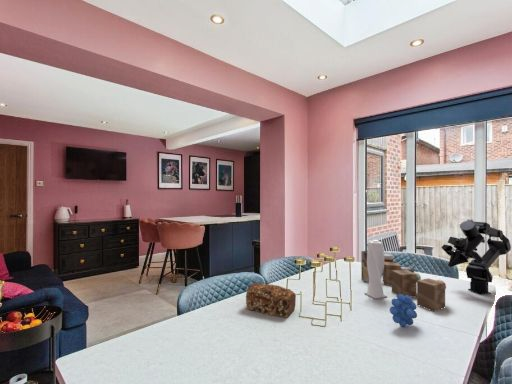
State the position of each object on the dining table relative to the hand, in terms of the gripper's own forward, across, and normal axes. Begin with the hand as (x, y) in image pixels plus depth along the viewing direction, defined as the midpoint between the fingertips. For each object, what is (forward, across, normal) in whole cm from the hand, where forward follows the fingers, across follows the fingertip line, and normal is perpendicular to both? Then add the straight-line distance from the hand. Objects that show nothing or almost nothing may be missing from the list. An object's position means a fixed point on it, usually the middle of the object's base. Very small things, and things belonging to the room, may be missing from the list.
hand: (449, 266), depth 132 cm
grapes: (+39, +30, -20) cm, 53 cm away
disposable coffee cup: (+19, -34, +1) cm, 39 cm away
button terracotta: (+17, +12, -6) cm, 21 cm away
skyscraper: (+36, 0, -16) cm, 39 cm away
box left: (+22, -18, -3) cm, 29 cm away
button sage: (+19, -2, -8) cm, 20 cm away
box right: (+23, +13, -4) cm, 26 cm away
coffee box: (+29, -22, -10) cm, 38 cm away
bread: (+72, +11, -52) cm, 89 cm away
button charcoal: (+15, -15, -3) cm, 21 cm away
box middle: (+25, -2, -6) cm, 26 cm away
